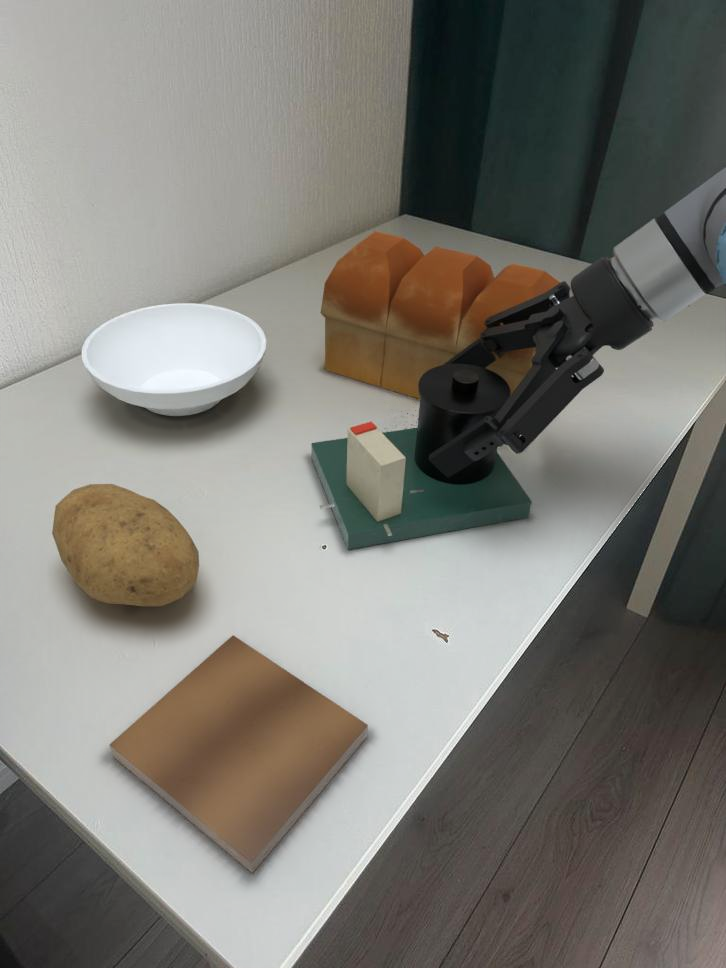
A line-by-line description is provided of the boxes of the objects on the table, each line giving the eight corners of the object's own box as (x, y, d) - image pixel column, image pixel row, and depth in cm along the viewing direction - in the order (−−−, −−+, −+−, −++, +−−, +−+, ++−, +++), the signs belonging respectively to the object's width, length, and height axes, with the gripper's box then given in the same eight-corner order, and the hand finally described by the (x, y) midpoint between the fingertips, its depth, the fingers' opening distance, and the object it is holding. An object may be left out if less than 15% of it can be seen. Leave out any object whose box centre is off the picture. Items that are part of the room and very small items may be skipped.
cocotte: (512, 477, 76) (530, 393, 69) (432, 494, 73) (442, 408, 67) (473, 428, 82) (486, 347, 76) (398, 442, 79) (405, 359, 73)
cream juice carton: (401, 513, 71) (406, 455, 66) (377, 522, 70) (381, 463, 65) (368, 477, 75) (371, 419, 70) (346, 484, 74) (347, 426, 69)
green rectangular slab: (533, 524, 73) (537, 507, 72) (334, 561, 68) (334, 544, 67) (471, 434, 84) (474, 417, 83) (296, 460, 80) (295, 443, 78)
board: (367, 736, 55) (368, 724, 54) (252, 873, 48) (251, 862, 47) (234, 647, 61) (232, 634, 60) (112, 756, 53) (108, 744, 52)
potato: (144, 663, 59) (128, 592, 54) (37, 577, 66) (13, 506, 61) (236, 591, 65) (229, 522, 60) (130, 519, 72) (115, 450, 67)
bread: (320, 369, 93) (320, 252, 84) (367, 327, 102) (372, 216, 93) (517, 431, 85) (542, 308, 76) (550, 379, 94) (576, 263, 84)
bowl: (184, 338, 98) (178, 287, 94) (303, 390, 90) (303, 337, 85) (55, 404, 86) (41, 350, 81) (180, 472, 77) (172, 415, 73)
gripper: (694, 399, 57) (466, 533, 67) (627, 259, 76) (457, 380, 86) (641, 330, 54) (410, 481, 64) (584, 203, 73) (413, 334, 83)
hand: (437, 423), depth 75 cm, fingers open, 13 cm apart
